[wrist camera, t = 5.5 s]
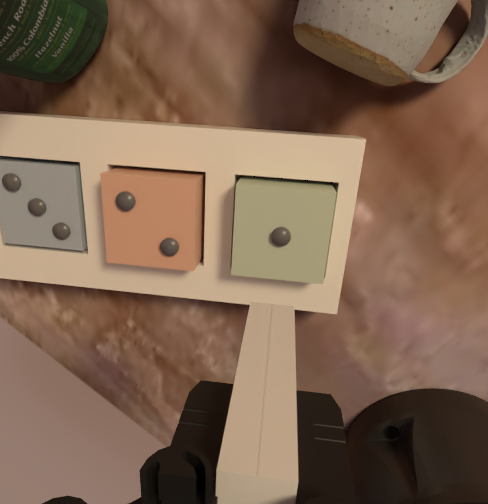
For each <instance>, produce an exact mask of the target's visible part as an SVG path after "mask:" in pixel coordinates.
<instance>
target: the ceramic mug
mask: <svg viewBox="0 0 488 504" xmlns="http://www.w3.org/2000/svg"><path fill="white" fill-rule="evenodd" d="M457 1H458V0H299V3H298V7H297V12H296V15H295V19H294V24H293V32H294V36H295V39H296V41H297V42H298V43H299V44H300V45H301V46H303V47H304V48H305V49H307V50H309V51H310V52H312V53H314V54H315V55H317V56H319V57H321V58H322V59H324V60H326V61H328V62H330V63H332V64H334V65H336V66H338V67H340V68H342V69H344V70H347V71H349V72H351V73H353V74H355V75H357V76H360V77H362V78H365V79H367V80H369V81H372V82H375V83H378V84H381V85H385V86H395V85H397V84H399V83H402V82H403V81H404V80H405V79H406V78H407V79H410V80H414V81H418V82H423V83H440V82H443V81H445V80H448V79H450V78H452V77H453V76H455V75H457V74H458V73H459V72H460V71H462V70H463V69H464V68H465V67H466V66H467V64H469V63H470V62H471V60H472V59H473V58H474V57H475V55H476V54H477V52H478V51H479V50H480V48H481V46H482V45H483V43H484V41H485V39H486V37H487V35H488V0H471V5H472V7H471V18H470V21H469V23H468V27H467V30H466V31H465V33H464V35H463V36H462V37H461V39H460V40H459V42H458V43H457V45H456V46H455V47H454V49H453V50H452V52H451V53H450V54H449V55H448V56H447V57H446V58H444V60H443V62H442V64H441V66H440V67H439V68H437V69H435V70H434V71H431V72H427V73H424V74H421V73H418V72H416V71H415V70H414V69H415V68H416V67H417V65H418V64H419V63H420V61H421V60H422V59H423V57H424V56H425V54H426V53H427V51H428V49H429V48H430V46H431V44H432V43H433V41H434V39H435V38H436V36H437V34H438V32H439V30H440V28H441V27H442V25H443V23H444V21H445V20H446V18H447V17H448V15H449V14H450V12H451V11H452V9H453V7H454V6H455V4H456V3H457Z"/></svg>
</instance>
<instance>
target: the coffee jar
mask: <svg viewBox="0 0 488 504" xmlns="http://www.w3.org/2000/svg"><path fill="white" fill-rule="evenodd" d="M107 22H108V9H107V3H106V0H0V73H4V74H8V75H13V76H17V77H21V78H26V79H31V80H36V81H41V82H48V83H61V82H65V81H67V80H69V79H71V78H73V77H74V76H75V75H76V74H78V73H79V72H80V71H81V69H83V68H84V67H85V65H86V64H87V62H88V61H89V60H90V59H91V57H92V56H93V55H94V53H95V51H96V50H97V48H98V47H99V45H100V43H101V41H102V39H103V37H104V34H105V31H106V27H107Z"/></svg>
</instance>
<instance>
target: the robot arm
mask: <svg viewBox="0 0 488 504" xmlns="http://www.w3.org/2000/svg"><path fill="white" fill-rule="evenodd" d="M140 482H141V498H139V499H137V500H135V501H133V502H131V503H129V504H488V402H486V401H484V400H483V399H480V398H478V397H476V396H473V395H470V394H467V393H463V392H459V391H454V390H447V389H420V390H413V391H408V392H404V393H400V394H397V395H393V396H391V397H388V398H386V399H384V400H382V401H380V402H378V403H376V404H374V405H373V406H371V407H369V408H368V409H367V410H365V411H364V412H363V413H362V414H361V415H360V416H359V417H358V418H357V419H356V420H355V421H354V422H353V423H352V425H351V426H350V428H349V429H348V431H347V433H346V435H345V431H344V425H343V419H342V413H341V409H340V407H339V406H338V405H337V403H336V402H335V400H334V399H333V397H332V396H331V394H323V393H314V392H306V391H297V390H296V355H295V312H294V306H288V305H278V304H268V303H257V302H250V307H249V312H248V317H247V321H246V326H245V331H244V336H243V341H242V346H241V351H240V356H239V361H238V366H237V371H236V376H235V381H234V384H227V383H219V382H211V381H202V380H201V381H200V382H199V383H198V384H197V385H196V386H195V387H194V388H193V389H192V390H191V391H190V392H189V394H188V397H187V400H186V403H185V406H184V410H183V411H182V414H181V417H180V420H179V424H178V426H177V428H176V431H175V434H174V437H173V440H172V443H171V445H170V446H169V447H166V448H163V449H161V450H158V451H157V452H156V453H154V454H153V455H152V456H150V457H149V458H148V459H147V460H146V462H145V463H144V465H143V466H142V468H141V469H140ZM43 504H87V503H86V502H85V501H83V500H82V499H81V498H76V497H71V496H64V497H58V498H53V499H51V500H49V501H47V502H45V503H43Z"/></svg>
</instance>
